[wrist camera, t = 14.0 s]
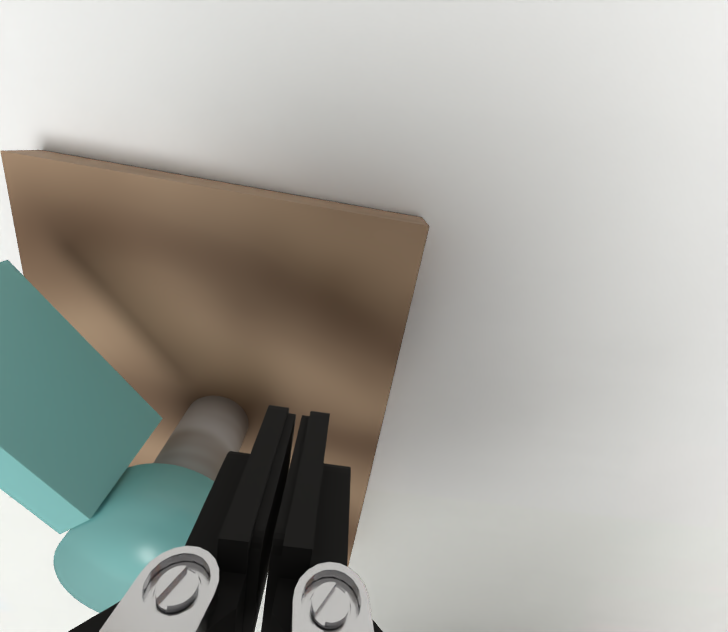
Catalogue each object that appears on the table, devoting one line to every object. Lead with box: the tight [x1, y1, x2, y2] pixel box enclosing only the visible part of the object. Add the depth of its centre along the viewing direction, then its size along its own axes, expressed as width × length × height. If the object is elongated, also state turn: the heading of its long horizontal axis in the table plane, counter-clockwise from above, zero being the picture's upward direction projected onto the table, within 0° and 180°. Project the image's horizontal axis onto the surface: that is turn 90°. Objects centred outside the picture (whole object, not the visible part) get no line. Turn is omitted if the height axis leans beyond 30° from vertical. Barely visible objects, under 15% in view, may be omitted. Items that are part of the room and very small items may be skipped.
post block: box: [1, 150, 429, 567], centre depth 18 cm, size 22×16×7 cm
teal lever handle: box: [0, 260, 214, 613], centre depth 13 cm, size 12×5×5 cm, turn 30°
